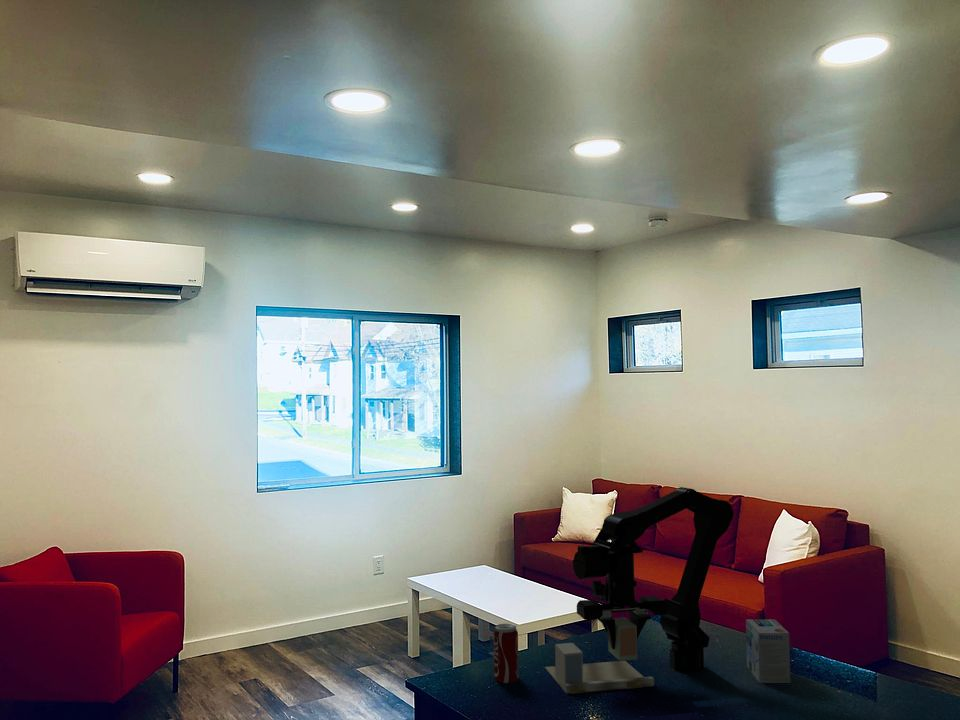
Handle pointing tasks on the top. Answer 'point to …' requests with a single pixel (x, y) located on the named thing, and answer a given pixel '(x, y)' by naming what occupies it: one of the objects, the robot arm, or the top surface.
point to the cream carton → (568, 663)
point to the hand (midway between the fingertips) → (622, 648)
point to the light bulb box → (768, 651)
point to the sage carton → (624, 640)
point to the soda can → (505, 653)
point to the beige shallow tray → (605, 677)
